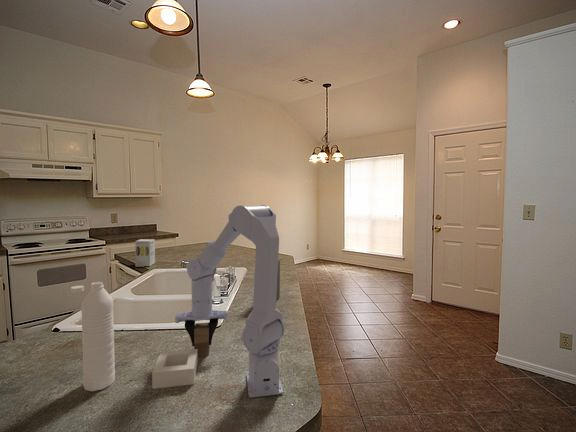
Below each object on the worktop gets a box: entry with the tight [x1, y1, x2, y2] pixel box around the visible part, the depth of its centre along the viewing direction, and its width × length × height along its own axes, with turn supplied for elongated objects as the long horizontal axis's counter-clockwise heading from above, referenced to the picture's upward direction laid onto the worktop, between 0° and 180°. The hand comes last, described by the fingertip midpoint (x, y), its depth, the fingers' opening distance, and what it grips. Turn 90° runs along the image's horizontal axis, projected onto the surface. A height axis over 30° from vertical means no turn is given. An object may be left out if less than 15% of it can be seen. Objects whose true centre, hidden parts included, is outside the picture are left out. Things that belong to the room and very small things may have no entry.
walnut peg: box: [193, 321, 210, 357], centre depth 87 cm, size 4×4×8 cm
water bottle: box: [70, 281, 116, 392], centre depth 70 cm, size 9×6×25 cm
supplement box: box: [134, 238, 156, 268], centre depth 195 cm, size 10×9×17 cm
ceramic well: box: [151, 348, 199, 390], centre depth 76 cm, size 10×10×4 cm
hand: (202, 344), depth 87 cm, fingers closed on walnut peg, 4 cm apart
